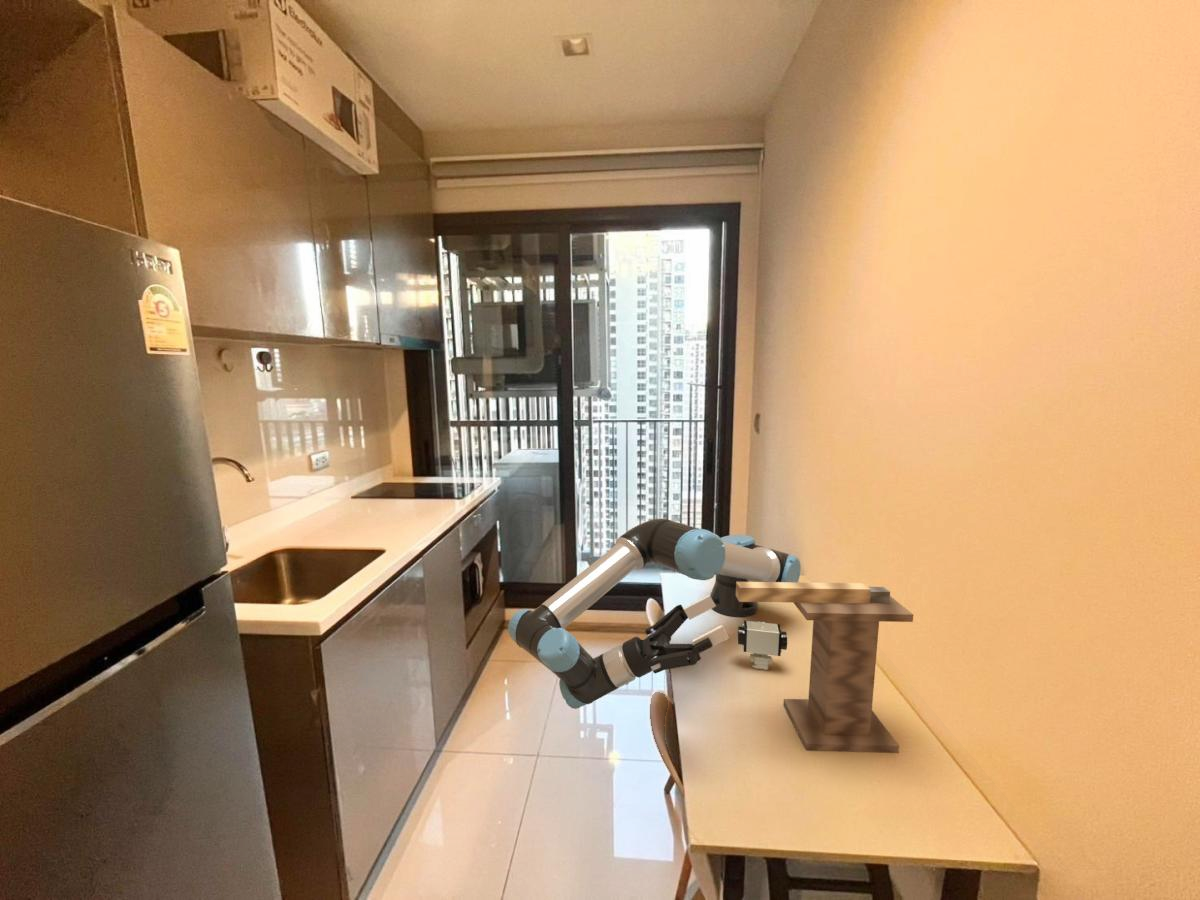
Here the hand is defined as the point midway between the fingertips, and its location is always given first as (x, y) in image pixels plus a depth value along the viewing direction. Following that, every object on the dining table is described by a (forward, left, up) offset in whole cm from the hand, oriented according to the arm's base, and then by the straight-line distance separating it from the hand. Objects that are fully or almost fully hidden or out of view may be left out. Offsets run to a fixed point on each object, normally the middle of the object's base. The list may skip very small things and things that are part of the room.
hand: (718, 614), depth 104 cm
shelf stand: (-9, +24, -25) cm, 36 cm away
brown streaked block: (-7, +18, +4) cm, 19 cm away
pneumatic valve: (-27, +7, -25) cm, 37 cm away
